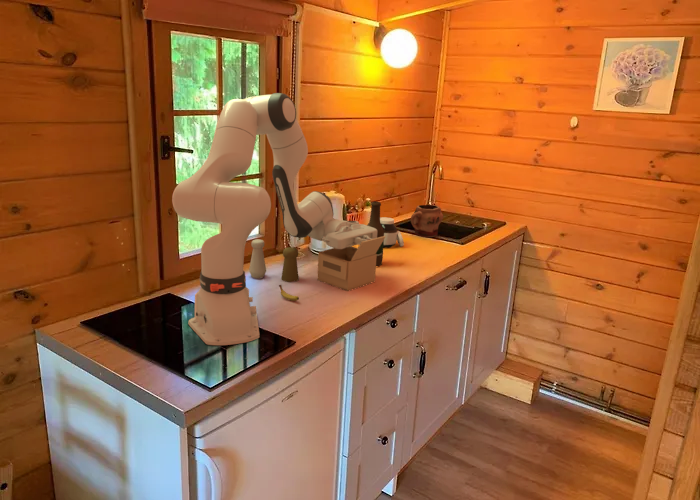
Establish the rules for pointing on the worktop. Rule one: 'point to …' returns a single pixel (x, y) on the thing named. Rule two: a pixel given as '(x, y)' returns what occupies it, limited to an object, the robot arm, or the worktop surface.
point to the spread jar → (390, 233)
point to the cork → (290, 265)
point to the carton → (345, 268)
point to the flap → (368, 248)
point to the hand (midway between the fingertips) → (370, 242)
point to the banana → (288, 295)
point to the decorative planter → (426, 220)
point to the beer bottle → (376, 224)
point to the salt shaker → (257, 260)
